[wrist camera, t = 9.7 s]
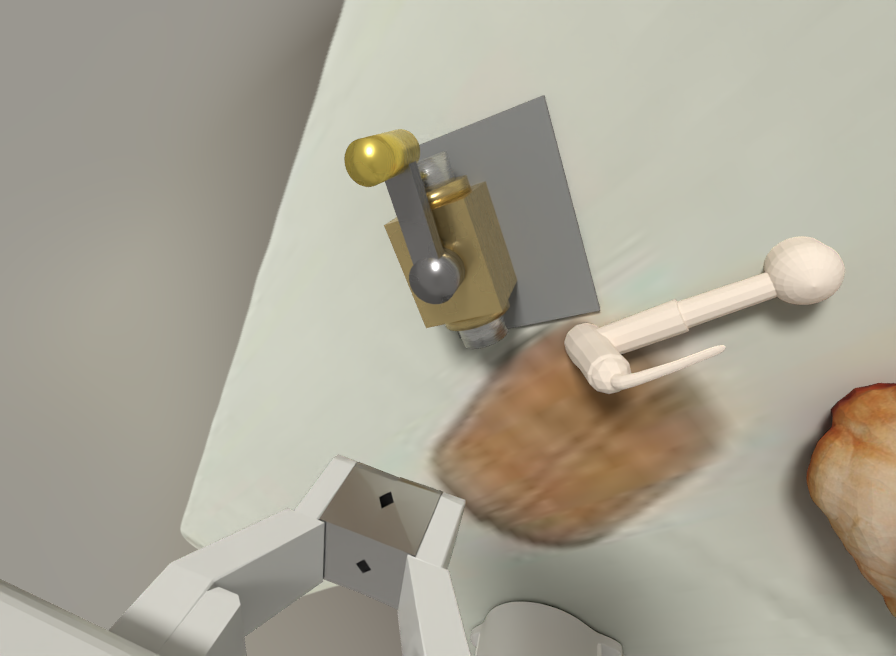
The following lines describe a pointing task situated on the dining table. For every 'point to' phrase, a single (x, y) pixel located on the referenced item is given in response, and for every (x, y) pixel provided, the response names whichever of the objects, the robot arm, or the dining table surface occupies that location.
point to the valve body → (464, 255)
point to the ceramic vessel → (861, 482)
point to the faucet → (703, 314)
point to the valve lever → (408, 209)
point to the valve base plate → (527, 209)
